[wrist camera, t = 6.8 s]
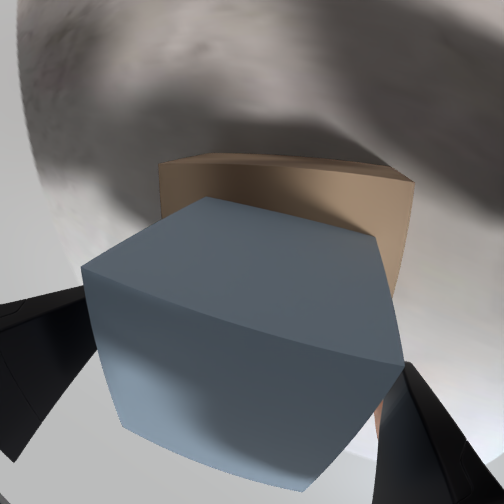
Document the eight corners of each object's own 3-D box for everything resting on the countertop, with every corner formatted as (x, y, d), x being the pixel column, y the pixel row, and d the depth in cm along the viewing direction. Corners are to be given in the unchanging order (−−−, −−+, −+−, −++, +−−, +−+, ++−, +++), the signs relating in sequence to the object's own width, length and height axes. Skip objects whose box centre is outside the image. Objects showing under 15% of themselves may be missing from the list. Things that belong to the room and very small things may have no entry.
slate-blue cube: (375, 237, 9) (404, 366, 4) (326, 365, 12) (302, 492, 6) (206, 196, 10) (80, 266, 5) (196, 327, 13) (122, 426, 8)
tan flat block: (390, 166, 13) (414, 182, 8) (361, 324, 16) (362, 386, 12) (211, 152, 15) (158, 163, 10) (216, 301, 18) (179, 351, 14)
